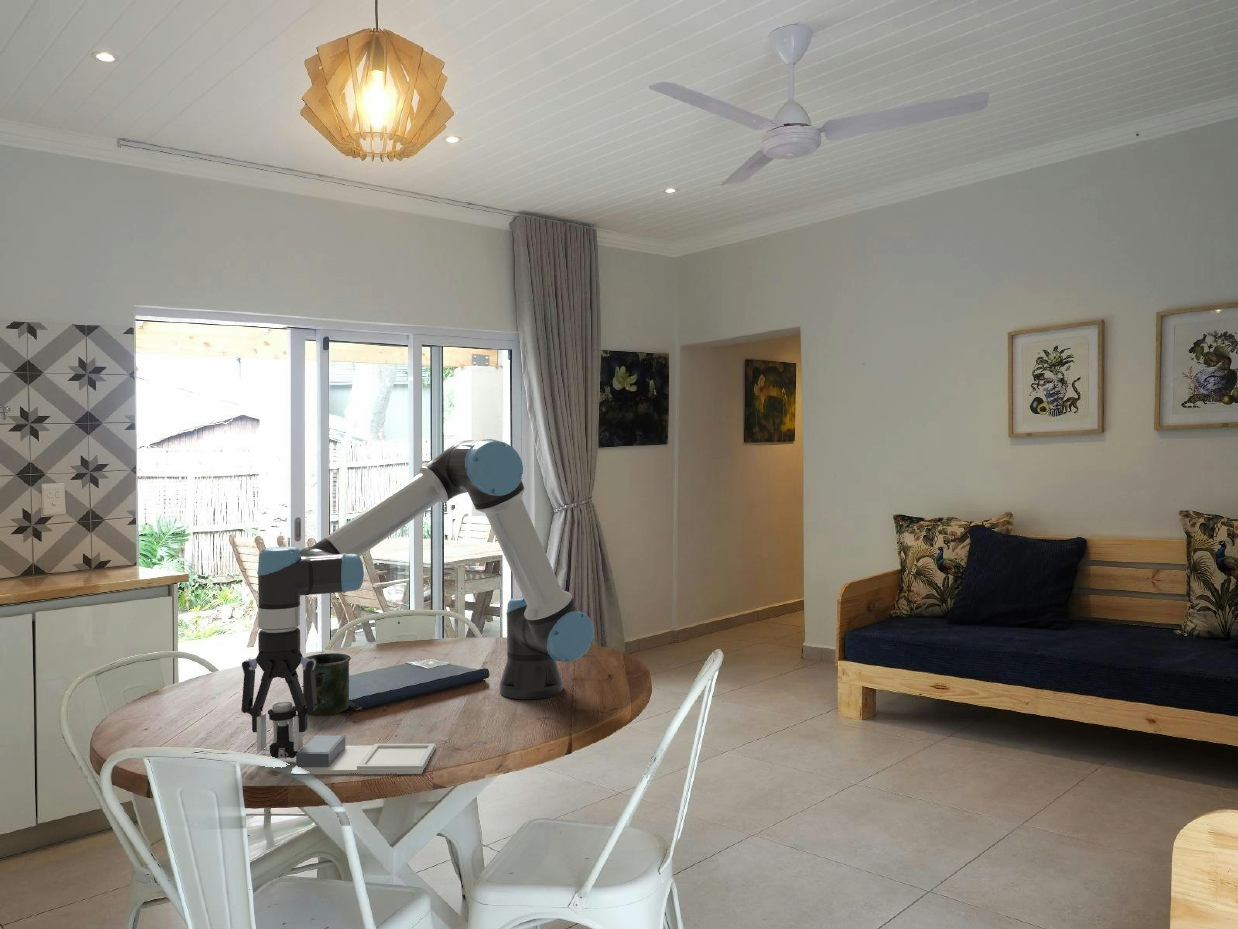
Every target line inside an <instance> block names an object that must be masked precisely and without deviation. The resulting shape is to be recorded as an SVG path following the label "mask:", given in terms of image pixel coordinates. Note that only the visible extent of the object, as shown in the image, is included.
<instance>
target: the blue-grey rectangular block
mask: <svg viewBox="0 0 1238 929" xmlns="http://www.w3.org/2000/svg"><path fill="white" fill-rule="evenodd" d="M345 746H346V735H345V734H343V735H341V734H340V735H338V734H337V735H325V734H324V735H322V734H321V735H318V734H317V735H314V736H313V737H312V738H311V739H309V741H308V742H307V743H306V744H304V745H303V747H301V748H300V749H299V750H298V752H297V753H296V756H295V765H297V766H298V767H329V766H330V765H331V764H332V763H333V762H334V760H335V759H336V758H337V757H338V756H339V755H340V754H341V753H342V751H343V750H344V749H345Z"/></svg>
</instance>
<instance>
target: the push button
mask: <svg viewBox="0 0 1238 929" xmlns="http://www.w3.org/2000/svg"><path fill="white" fill-rule="evenodd" d="M271 706H272V708H270V709H268V710H267V714H268V717H269V718H268V719H269V721H272V726H273V739H272V743H271V744H270V745H269V748H264V749H263V750H262V751H265V752H266V753H263V754H262V756H270V757H271V756H272V757H275V758H274V759H288V758H290V759H294V758H296V753H297V752H299V750H298V751H294V716H295V715H297V710H296V707H295V705H293V702H291V701H281V702H276V703H274V704H272V705H271ZM267 751H268V752H269V753H267Z"/></svg>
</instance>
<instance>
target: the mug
mask: <svg viewBox="0 0 1238 929" xmlns="http://www.w3.org/2000/svg"><path fill="white" fill-rule="evenodd" d="M304 658H307V659H313V658H315V659H316V660H317V663H316V667H315V682H316V694H317V705H318V706H317V708H316V709H315V710H314V711H313V712H312V713H308V715H307V716H316V717H321V716H323V717H324V716H330V715H335V714H339V713H342V712H345V711H346V710H348V708H349V707H350V661H351V659H352V656H350V655H348V654H345V653H338V652H337V653H335V652H334V653H333V652H332V653H330V652H328V653H319V654H312V655H309V656H308V655H307V656H306V657H304ZM304 673H305V670H303V669H302V685H303V686H302V692H303V695H304V698H305V701H306V690H305V678H304ZM348 701H349V702H348ZM306 704H307V701H306Z"/></svg>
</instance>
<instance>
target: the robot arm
mask: <svg viewBox="0 0 1238 929" xmlns="http://www.w3.org/2000/svg"><path fill="white" fill-rule="evenodd" d="M523 474H524V465H523V461H522V459H521V456H520V455H519V453H518V451H517V450H516V449H515V448H514V447H513V446H511V445H510V444H508V443H506V442H505V441H502V440H501V441H500V440H498V439H497V440H496V439H491V438H489V439H488V438H487V439H481V440H477V439H476V440H463V441H459V442H457V443H455V444H453V445H451V446H450V447H448V448H446V450H444V451H442V452H441V453H440V454H438V455H437V456H435V457H434V458H433V459H431V460H430V461H428V462H427V463H425V464H424V465H422V466H421V467H420V468H419V471H418V474H417V475H416V476H414V477H413V478H410V480H408V481H407V482H405V483H404V484H403V485H401V486H400V487H398V488H396V489H395V490H393V491H391V493H389V494H388V495H386V496H385V497H383V498H381V499H380V500H379V501H377V502H375V503H374V504H372V506H370V507H368V508H366V509H365V510H364V511H363V512H361V513H360V514H358V515H356V516H355V517H354V518H351V520H349V521H348V522H346V523H345V524H344V525H342V526H339V528H337V529H336V530H334V531H333V532H331V533H330V534H329V535H327V536H326V537H324V538H322V539H321V540H320V541H318V542H317V543H316V542H315V544H314V545H312V546H307V547H303V548H298V547H296V546H273V547H266V548H263V549H262V550H261V551H259V553H258V562H257V563H258V564H257V573H256V575H257V582H258V583H257V584H258V586H257V588H258V589H257V590H258V592H257V593H258V594H257V596H258V608H257V610H258V612H257V613H258V617H257V619H258V621H257V623H258V624H257V625H258V626H257V627H258V628H259V631H258V635H257V636H258V639H257V640H258V645H257V646H258V654H257V655H256V657H255V658H247V659H246V660H244V661H242V663H241V667H242V670H243V671H242V672H243V682H242V683H243V686H242V696H241V697H242V699H241V712H242V713H243V714H249V715H250V716H251V731H252V733H256V752H262V751H263V749H266V747H267V712H263V711H264V709H263V708H264V705H265V703H266V700H267V696H268V694H269V691H270V687H271V685H272V682H273V679H275V678H280V679H284V680H285V683H286V684H287V686H288V689H289V691H290V695H291V698H292V701H293V704H294V706H295V707H296V710H297V711H296V715H295V716H294V718H293V733H294V751H298V752H299V751H300V750H301V749H302V748H303V747H304V745H303V738H304V737H303V736H304V735H303V733H305V732H306V731H307V730H308V716H309V715H308V713H312V712H313V711H314V710H315V709H316V708H317V706H318V705H317V694H316V682H315V667H316V663H317V660H316V659H315V658H313V659H307V658H305V657H303V654H302V651H301V629H300V628H299V626H300V625H301V596H312V595H323V594H324V595H326V594H338V593H343V594H345V593H348V592H354V591H355V592H356V591H358V590H360V589H361V587H362V586H363V583H364V577H365V573H364V572H365V571H364V565H363V564H364V563H363V560H362V558H361V556H363V555H364V554H366V553H368V551H371V549H373V548H374V547H376V546H377V545H379V544H380V543H381V542H384V541H385V540H386V539H387V538H389V537H390V536H391V535H393V534H395V533H396V532H397V531H398V530H400V529H402V528H403V527H405V526H406V525H408V524H409V523H410V522H412V521H413V520H415V519H416V518H417V517H419V516H420V515H422V514H423V513H425V512H426V511H427V510H429V509H430V508H432V507H433V506H434V505H436V504H438V503H447V502H448V501H449V500H451V499H453V498H454V497H456V496H459V495H462V494H465V493H468V496H469V497H470V500H471V502H472V505H473V506H474V509H475V511H478V512H481V513H482V514H485V516H486V518H487V521H488V523H489V524H490V527H491V529H492V531H493V534H494V535H495V536H494V537H495V538H496V541H497V543H498V544H499V547H500V549H501V551H502V553H503V556H504V557H505V560H506V562H507V564H508V566H509V570H510V571H511V573H512V575H513V577H514V580H515V582H516V584H517V586H518V589H519V590H520V592H521V595H522V596H521V597H514V598H511V599H509V601H508V602H507V606H506V607H507V609H506V638H507V639H506V644H507V645H506V647H507V648H506V650H507V653H506V654H507V658H506V662H505V666H504V668H503V672H502V675H501V678H500V682H499V693H500V694H501V695H502V696H504V697H507V698H509V699H514V700H515V699H517V700H541V699H543V700H544V699H549V698H552V697H556V696H559V695H560V694H562V693H563V690H564V686H563V685H564V684H563V683H564V682H563V678H562V675H561V671H560V669H559V666H558V663H557V662H564V663H571V662H575V661H578V660H580V659H581V658H583V656H584V655H586V653H587V652H588V651H589V649H590V648H591V644H592V642H593V640H594V635H595V634H594V633H595V629H594V625H593V622H592V620H591V618H590V617H589V616H588V615H587V614H586V613H584V612H583V611H580V610H579V609H578V606H577V605H576V602H575V600H574V597H573V596H572V594H571V592H569V591H566V590H564V589H562V587H561V585H560V583H559V580H558V578H557V575H556V574H555V572H554V569H553V567H552V565H551V562H550V560H549V557H548V555H547V552H546V550H545V548H544V546H543V544H542V542H541V540H540V537H539V534H538V532H537V530H536V528H535V526H534V524H533V522H532V519H531V517H530V515H529V512H528V510H527V508H526V505H525V503H524V500H523V499H522V497H523V495H524V492H525V486H524V484H523V482H522V476H523ZM300 665H301V666H302V671H303V670H305V673H304V678H305V690H306V701H307V704H306V701H305V698H304V695H303V688H302V687H301V684H300V681H299V675H298V673H297V669H298V667H299V666H300ZM258 666H259V667H260V669H261V670H262V671H263V672H262V675H261V679H260V684H259V688H258V691H257V694H256V698H255V700H254V694H255V683H256V682H255V681H256V669H257V668H258Z"/></svg>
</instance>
